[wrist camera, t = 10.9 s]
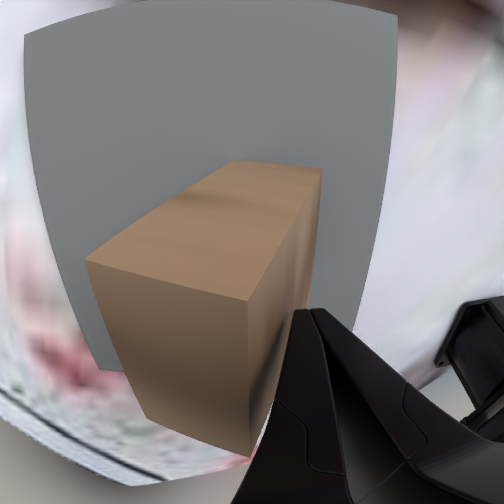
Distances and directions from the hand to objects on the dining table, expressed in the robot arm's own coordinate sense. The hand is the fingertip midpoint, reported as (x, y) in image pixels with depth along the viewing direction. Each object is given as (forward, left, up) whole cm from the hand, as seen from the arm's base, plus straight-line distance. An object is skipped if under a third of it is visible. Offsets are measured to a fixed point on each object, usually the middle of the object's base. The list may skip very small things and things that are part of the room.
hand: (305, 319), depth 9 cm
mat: (0, +3, -7) cm, 7 cm away
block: (0, 0, -5) cm, 5 cm away
